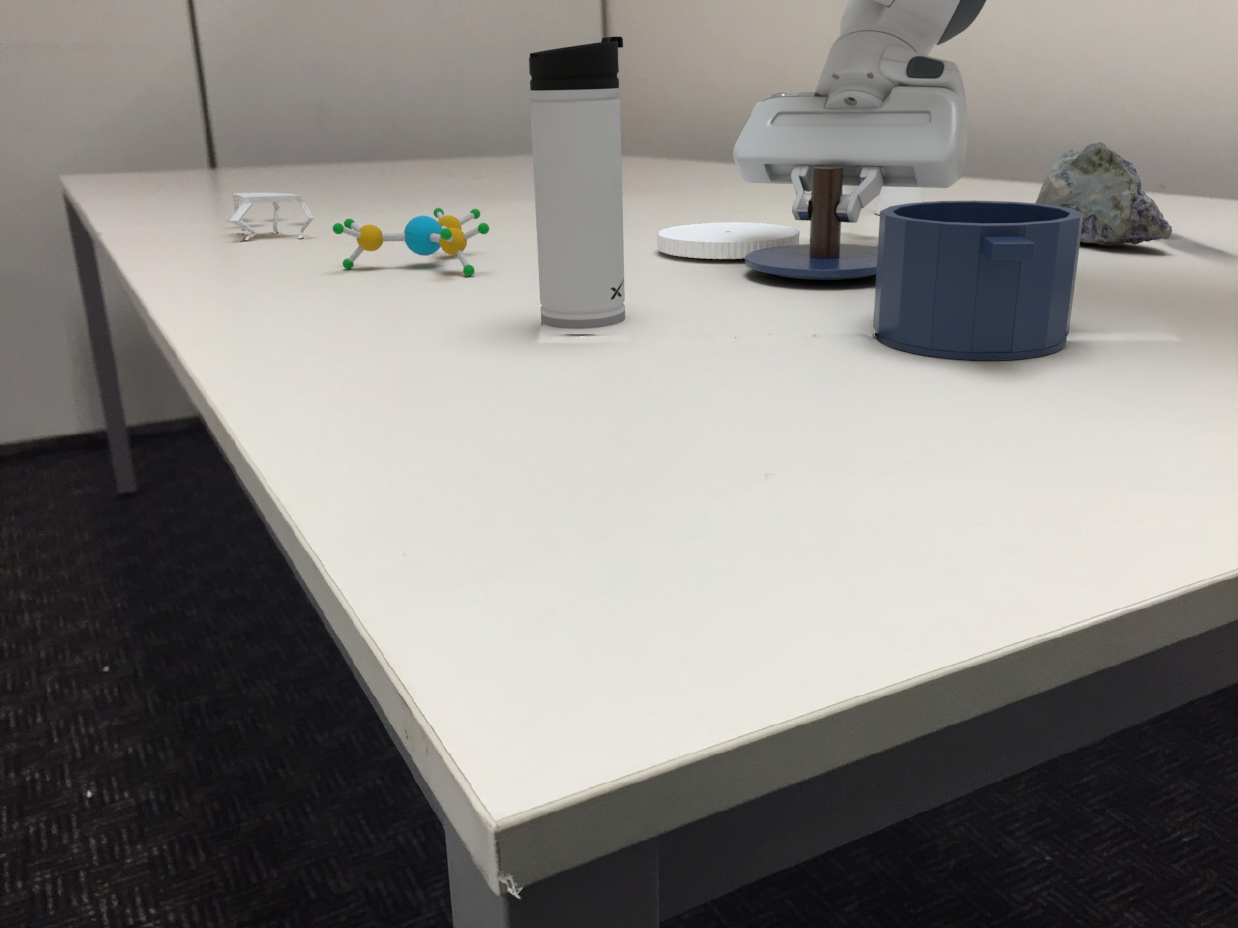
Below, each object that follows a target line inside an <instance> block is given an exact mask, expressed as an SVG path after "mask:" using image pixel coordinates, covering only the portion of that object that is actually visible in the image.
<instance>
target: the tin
mask: <svg viewBox="0 0 1238 928" xmlns="http://www.w3.org/2000/svg"><path fill="white" fill-rule="evenodd" d="M1083 215H1084V214H1083V213H1081V212H1079V211H1076V210H1074V209H1071V208H1066V207H1060V206H1054V205H1047V204H1036V202H1034V203H1033V202H1022V201H1006V200H1003V201H1002V200H936V201H935V200H934V201H923V202H920V203H908V204H902V205H896V206H890V207H888V208H886V209H884V210H882V211H880V215H879V222H878V224H879V225H878V237H877V238H878V241H877V247H878V255H877V272H876V274H875V290H874V291H875V292H874V307H873V322H872V325H873V328H874V330H875V331H876V332H874V333H873V334H874V338H875V339H876V340H877V341H878V342H880V343H882V344H883V345H885V346H887V347H890V348H893V349H895V350H899V351H902V352H906V353H910V354H916V355H920V356H926V357H933V358H939V359H940V358H941V359H949V360H961V361H1014V360H1026V359H1033V358H1038V357H1039V358H1040V357H1044V356H1048V355H1051V354H1054V353H1057V352H1059V351H1061V350H1062V349H1064V348H1065V347H1066V345H1067V342H1068V341H1067V339H1068V335H1069V333H1070V325H1071V319H1072V312H1073V311H1072V309H1073V303H1074V296H1075V295H1074V293H1075V286H1076V279H1077V278H1076V277H1077V270H1078V262H1079V253H1080V245H1081V241H1080V239H1081V231H1082V223H1083Z"/></svg>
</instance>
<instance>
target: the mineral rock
mask: <svg viewBox="0 0 1238 928" xmlns="http://www.w3.org/2000/svg"><path fill="white" fill-rule="evenodd" d="M1035 203H1036V204H1047V205H1054V206H1060V207H1066V208H1071V209H1074V210H1076V211H1079V212H1081V213H1083V214H1084V215H1083V223H1082V231H1081V239H1080V243H1087V244H1097V245H1100V246H1107V247H1112V246H1119V245H1123V244H1132V245H1139V244H1141V243H1144V242H1146V243H1148V242H1149V243H1150V242H1151V241H1157V240H1158V241H1159V240H1168V239H1170V237H1171V236H1172V233H1173V228H1172V225H1170V223H1169V221H1168V220H1166V219H1165V218H1164V214H1163V213H1162V212H1161V211H1160V208H1159V206H1158V204H1156V202H1155V201H1154V200H1153V199H1152V198H1151V197H1150V196H1148V194H1147V193H1146V192H1145V190H1143V189H1142V182H1141V179H1140V176H1139V175H1138V172H1137V169H1136V167H1135V166H1134V165H1133V163H1132V162H1130V161H1128V160H1126V159H1125V158H1124V157H1123V156H1121V155H1120V154H1119V153H1117V151H1115V150H1112V149H1110V148H1109V147H1108V145H1106V143H1104V142H1102V141H1099V142H1094V143H1090V144H1087V145H1086V146H1085V147H1084V148H1083V149H1082V150H1081V151H1079V150H1073V149H1067V150H1065V151H1063V153H1062V154H1061V155H1060V156H1059V157H1058V159H1057V161H1056V162H1055V163H1054V164H1053V166H1052V167H1051V169H1050V170H1049V172H1048V173H1047V175H1046V177H1045V178H1044V181H1043V183H1042V184H1041V187H1040V190H1039V193H1038V195H1037V199H1036V200H1035Z"/></svg>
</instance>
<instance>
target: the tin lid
mask: <svg viewBox="0 0 1238 928" xmlns="http://www.w3.org/2000/svg"><path fill="white" fill-rule="evenodd" d="M843 186H844V185H843V167H842V166H816V167H813V168H812V190H811V191H810V194H811V221H810V223H809V224H810V225H809V226H810V228H809V243H807V244H804V243H803V244H799V245H788V246H779V247H771V248H765V249H760V250H756V251H753V252H750V253H749V254H747V255H746V256H745V258H744V265H745V266H746V267H747V268H749V269H751V270H754V271H756V272H761V273H764V274H766V273H767V274H770V275H771V274H772V275H775V276H779V277H783V278H789V279H798V280H810V281H837V280H838V281H839V280H854V279H861V278H862V279H863V278H866V277H868V278H869V277H871V276H876V272H877V255H878V246H870V245H863V244H848V243H847V244H843V243H841V237H842V236H841V235H842V222H839V220H838V219H839V217H838V216H837V214H836V209H837V205H838V204H839V203H840V202H839V199H840V197H841V195H843V190H844V189H843Z"/></svg>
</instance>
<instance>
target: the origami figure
mask: <svg viewBox="0 0 1238 928" xmlns="http://www.w3.org/2000/svg"><path fill="white" fill-rule="evenodd" d="M231 195H232V201H233V210H234V214H233V215H232V216H231V218H230V219H229V222H230V223H232V224H234V225H235V226H237V227H239V228H241V231H245V232H248V233H249V234H248V235H247V236H246V237H251V238H253V237H254V236H255V235H256V234H258V231H256V230H255V229H254V228H252V227H251V226H249V225H248V224H247V223H245V222H244V221H243V217H244V216H245V215H246V214H247V213H248V211H249V210H250V209H251V208H252V206H253V205H254V204H264V203H265V204H266V203H271V205H272V206H273V209H274V210H273V221H272V229H273V233H274V232H278V233H279V230H278V226H279V225H278V224H279V217H280V210H281V207H280V206H279V204H278V203H290V202H291V203H292V202H294V203H295V202H298V203H299V205H300V206H301V207H302V209H303V211H304V212H305V214H306V216H307V219H306V221H305V222H304V224H303V226H302V227H301V228H300V230H299V235H298V239H299V238H303V239H304V231H305V230H306V229H307V227H308V226H309V225H310V224H311V223H312V221H313V220H314V219H315V216H314V214H313V213H312V212H311V210H310V208H309V207H308V205H307V204H306V202H305V201H304V199H303V198H302V197H301V196H300V195H299V194H294V193H285V192H284V193H282V192H238V193H237V192H236V193H232V194H231ZM239 202H241V205H239ZM252 236H253V237H252Z"/></svg>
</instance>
